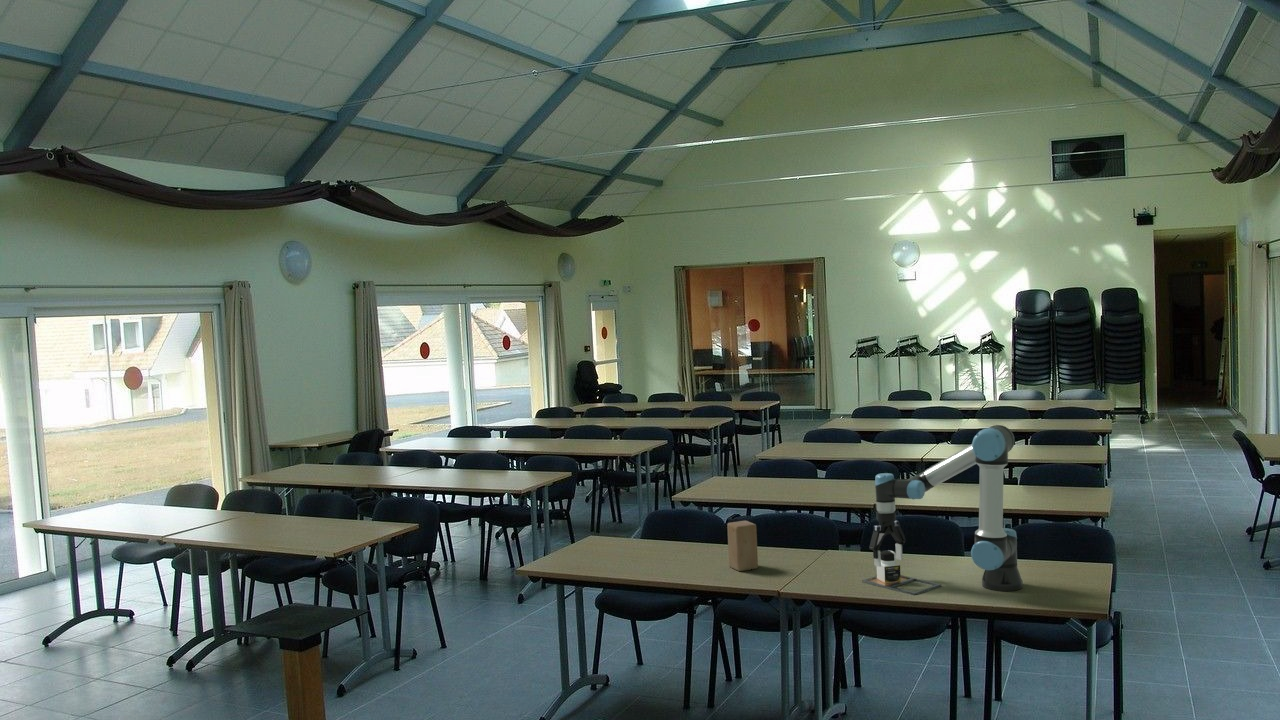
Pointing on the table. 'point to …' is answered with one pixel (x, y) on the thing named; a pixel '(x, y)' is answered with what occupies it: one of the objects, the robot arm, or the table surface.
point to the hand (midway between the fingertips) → (888, 562)
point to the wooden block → (742, 545)
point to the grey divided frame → (903, 581)
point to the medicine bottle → (888, 568)
